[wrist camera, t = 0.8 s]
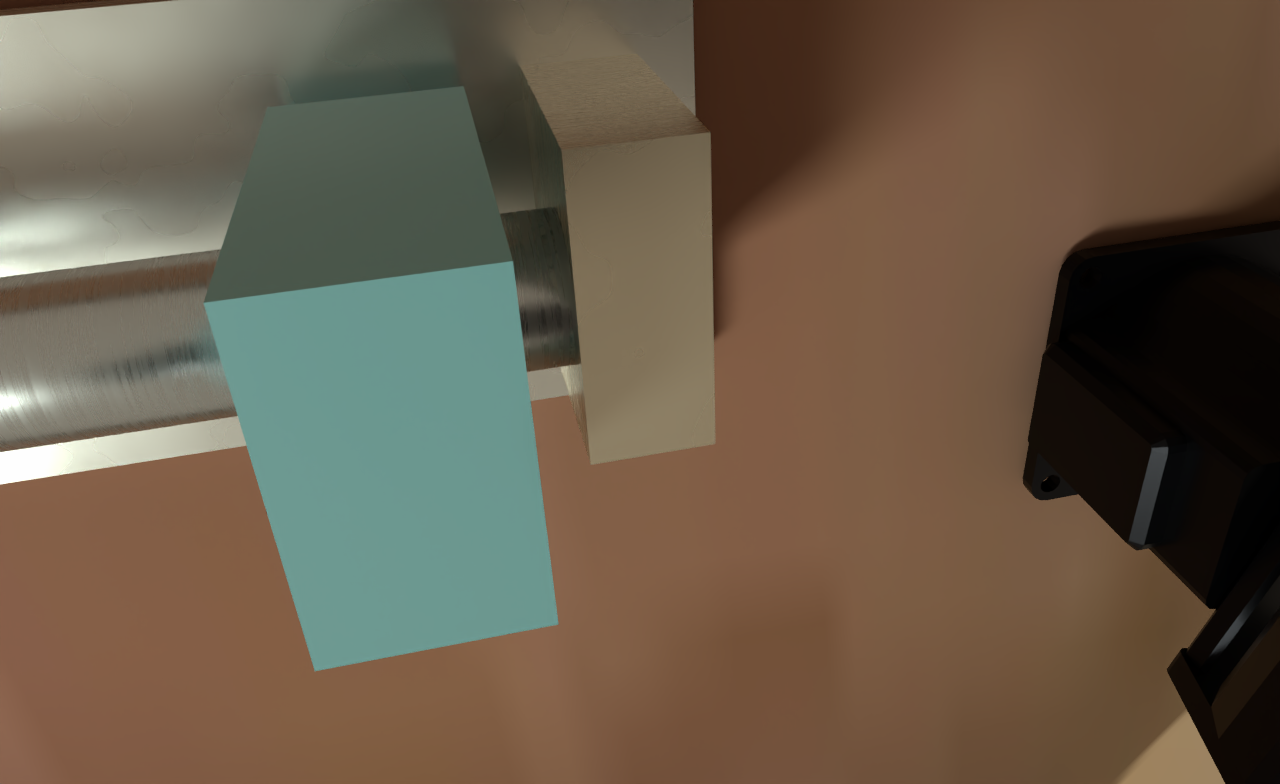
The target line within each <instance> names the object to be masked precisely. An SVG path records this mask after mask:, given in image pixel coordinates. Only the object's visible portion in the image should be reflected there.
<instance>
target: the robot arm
mask: <svg viewBox="0 0 1280 784" xmlns="http://www.w3.org/2000/svg"><path fill="white" fill-rule="evenodd" d="M1089 268H1091V269H1090V272H1089V274H1088V275H1087V276H1086V277H1085V278H1084V279H1083V280H1080V278H1081V275H1082V274H1083V273H1084V272H1085V271H1086V270H1087V269H1089ZM1028 442H1029V446H1028V452H1027V458H1026V463H1025V469H1024V475H1023V484H1024V486H1025V487H1026V488H1027V490H1028V491H1029V492H1030V493H1031V494H1032V495H1033V496H1034V497H1035V498H1037V499H1039V500H1050V499H1055V498H1061V497H1066V496H1071V495H1077V494H1079V495H1080V496H1081V497H1082V498H1083V499H1084V500H1085V501H1086V502H1087V503H1088V504H1089V505H1090V506H1091V507H1092V508H1093V509H1094V510H1095V512H1096V513H1097V514H1098V515H1099V516H1100V517H1101V518H1102V519H1103V520H1104V521H1105V522H1106V523H1107V524H1108V525H1109V526H1110V527H1111V528H1112V529H1113V530H1114V531H1115V532H1116V533H1117V534H1118V535H1119V536H1120V537H1121V538H1122V539H1123V540H1124V541H1125V542H1126V543H1127V544H1128V545H1130V546H1131V547H1132V548H1134V549H1135V550H1142V549H1147V548H1149V549H1150V550H1151V551H1152V552H1153V553H1154V554H1155V555H1156V556H1157V557H1158V558H1159V559H1160V560H1161V561H1162V562H1163V563H1164V564H1165V565H1166V566H1167V567H1168V568H1169V569H1170V570H1171V571H1172V572H1173V573H1174V574H1175V575H1176V576H1177V577H1178V578H1179V579H1180V580H1181V581H1182V582H1183V583H1184V584H1185V585H1186V586H1187V587H1188V588H1189V589H1190V590H1191V591H1192V592H1193V593H1194V594H1195V595H1196V596H1197V597H1198V598H1199V599H1200V600H1201V601H1202V602H1203V603H1204V604H1205V605H1206V606H1207V607H1208V608H1209V609H1216V610H1215V611H1214V613H1213V614H1212V616H1211V617H1210V618H1209V620H1208V621H1207V623H1206V624H1205V625H1204V627H1203V628H1202V629H1201V631H1200V632H1199V634H1198V635H1197V636H1196V638H1195V639H1194V641H1193V642H1192V643H1191V645H1190V646H1189V647H1188V648H1182V649H1181V650H1180V652H1179V653H1178V654H1177V656H1176V657H1175V659H1174V660H1173V661H1172V663H1171V664H1170V666H1169V667H1168V668H1167V672H1168V674H1169V676H1170V678H1171V680H1172V682H1173V684H1174V686H1175V687H1176V689H1177V691H1178V693H1179V695H1180V697H1181V699H1182V701H1183V703H1184V705H1185V707H1186V709H1187V711H1188V712H1189V714H1190V716H1191V718H1192V720H1193V722H1194V724H1195V726H1196V728H1197V730H1198V732H1199V734H1200V736H1201V738H1202V739H1203V741H1204V743H1205V745H1206V747H1207V749H1208V751H1209V753H1210V755H1211V757H1212V759H1213V761H1214V762H1215V764H1216V766H1217V768H1218V770H1219V772H1220V774H1221V776H1222V778H1223V780H1224V782H1225V784H1280V221H1275V222H1268V223H1262V224H1255V225H1248V226H1241V227H1234V228H1227V229H1221V230H1214V231H1207V232H1200V233H1193V234H1186V235H1180V236H1173V237H1166V238H1159V239H1152V240H1145V241H1138V242H1132V243H1125V244H1118V245H1111V246H1104V247H1097V248H1091V249H1084V250H1081V251H1078V252H1075V253H1074V254H1073V255H1071V256H1070V257H1068V258H1067V260H1066V261H1065V262H1064V264H1063V265H1062V267H1061V270H1060V273H1059V277H1058V283H1057V288H1056V294H1055V300H1054V305H1053V311H1052V317H1051V322H1050V328H1049V334H1048V339H1047V345H1046V350H1045V352H1044V354H1043V357H1042V362H1041V368H1040V374H1039V379H1038V385H1037V391H1036V396H1035V402H1034V408H1033V413H1032V419H1031V425H1030V430H1029V436H1028ZM1048 476H1049V478H1047V479H1046V480H1045V481H1043V480H1044V479H1045V478H1046V477H1048ZM1042 481H1043V482H1042Z"/></svg>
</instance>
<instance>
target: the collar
mask: <svg viewBox="0 0 1280 784" xmlns="http://www.w3.org/2000/svg"><path fill="white" fill-rule="evenodd" d="M204 306H205V310H206V313H207V316H208V320H209V323H210V326H211V329H212V333H213V336H214V339H215V343H216V346H217V349H218V353H219V356H220V359H221V362H222V366H223V369H224V372H225V376H226V379H227V382H228V386H229V389H230V392H231V396H232V399H233V402H234V405H235V409H236V412H237V415H238V419H239V422H240V425H241V429H242V432H243V435H244V438H245V442H246V445H247V448H248V452H249V455H250V458H251V462H252V465H253V468H254V471H255V475H256V478H257V481H258V485H259V488H260V491H261V495H262V498H263V501H264V504H265V508H266V511H267V514H268V518H269V521H270V524H271V528H272V531H273V534H274V538H275V541H276V544H277V547H278V551H279V554H280V557H281V561H282V564H283V567H284V571H285V574H286V577H287V580H288V584H289V587H290V590H291V594H292V597H293V600H294V604H295V607H296V610H297V613H298V617H299V620H300V623H301V627H302V630H303V633H304V637H305V640H306V643H307V646H308V650H309V653H310V656H311V660H312V663H313V666H314V670H315V671H318V670H324V669H329V668H334V667H339V666H344V665H350V664H355V663H360V662H365V661H370V660H376V659H381V658H386V657H391V656H396V655H402V654H407V653H412V652H417V651H422V650H428V649H433V648H438V647H443V646H448V645H454V644H459V643H464V642H469V641H474V640H480V639H485V638H490V637H495V636H500V635H506V634H511V633H516V632H521V631H526V630H532V629H537V628H542V627H547V626H552V625H558V617H557V609H556V601H555V593H554V585H553V577H552V569H551V561H550V553H549V545H548V537H547V529H546V521H545V513H544V505H543V497H542V489H541V481H540V473H539V465H538V457H537V449H536V441H535V433H534V425H533V417H532V409H531V401H530V393H529V385H528V377H527V369H526V361H525V353H524V345H523V337H522V329H521V321H520V313H519V305H518V297H517V289H516V281H515V273H514V265H513V259H512V256H511V252H510V249H509V245H508V242H507V238H506V235H505V231H504V227H503V224H502V220H501V217H500V213H499V210H498V206H497V203H496V199H495V196H494V192H493V188H492V185H491V181H490V178H489V174H488V171H487V167H486V164H485V160H484V157H483V153H482V149H481V146H480V142H479V139H478V135H477V132H476V128H475V125H474V121H473V118H472V114H471V110H470V107H469V103H468V100H467V96H466V93H465V89H464V86H460V87H450V88H441V89H432V90H422V91H413V92H404V93H394V94H385V95H376V96H366V97H357V98H348V99H339V100H329V101H320V102H311V103H301V104H292V105H283V106H273V107H267V110H266V113H265V116H264V119H263V122H262V125H261V129H260V132H259V135H258V138H257V141H256V144H255V147H254V150H253V153H252V156H251V159H250V162H249V165H248V168H247V171H246V174H245V177H244V180H243V184H242V187H241V190H240V193H239V196H238V199H237V202H236V205H235V208H234V211H233V214H232V217H231V220H230V223H229V226H228V229H227V232H226V235H225V239H224V242H223V245H222V248H221V251H220V254H219V257H218V260H217V263H216V266H215V269H214V272H213V275H212V278H211V281H210V284H209V287H208V290H207V294H206V297H205V300H204Z"/></svg>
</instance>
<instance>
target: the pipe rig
mask: <svg viewBox="0 0 1280 784" xmlns="http://www.w3.org/2000/svg"><path fill="white" fill-rule="evenodd" d="M460 86H464V89H465V93H466V96H467V100H468V103H469V107H470V110H471V114H472V118H473V121H474V125H475V128H476V132H477V135H478V139H479V142H480V146H481V149H482V153H483V157H484V160H485V164H486V167H487V171H488V174H489V178H490V181H491V185H492V188H493V192H494V196H495V199H496V203H497V206H498V210H499V213H500V217H501V220H502V224H503V227H504V231H505V235H506V238H507V242H508V245H509V249H510V252H511V256H512V259H513V265H514V273H515V281H516V289H517V297H518V305H519V313H520V321H521V329H522V337H523V345H524V353H525V361H526V369H527V377H528V385H529V393H530V401H533V400H540V399H546V398H552V397H559V396H565V395H569V397H570V400H571V403H572V406H573V410H574V413H575V416H576V419H577V423H578V426H579V429H580V432H581V435H582V439H583V442H584V445H585V448H586V451H587V455H588V458H589V461H590V464H591V465H593V464H599V463H605V462H610V461H616V460H622V459H628V458H634V457H640V456H646V455H652V454H658V453H664V452H670V451H676V450H682V449H688V448H694V447H700V446H706V445H711V444H715V390H714V323H713V257H712V191H711V132H710V131H709V130H708V129H707V128H706V127H705V126H704V125H703V124H702V122H701V121H700V120H699V119H698V118H697V117H696V116H695V74H694V30H693V0H102V1H91V2H79V3H68V4H57V5H46V6H35V7H24V8H12V9H1V10H0V484H5V483H11V482H17V481H24V480H30V479H36V478H43V477H49V476H56V475H62V474H68V473H75V472H81V471H87V470H94V469H100V468H107V467H113V466H119V465H126V464H132V463H138V462H145V461H151V460H157V459H164V458H170V457H177V456H183V455H189V454H196V453H202V452H208V451H215V450H221V449H228V448H234V447H240V446H247V445H246V442H245V438H244V435H243V432H242V429H241V425H240V422H239V419H238V415H237V412H236V409H235V405H234V402H233V399H232V396H231V392H230V389H229V386H228V382H227V379H226V376H225V372H224V369H223V366H222V362H221V359H220V356H219V353H218V349H217V346H216V343H215V339H214V336H213V333H212V329H211V326H210V323H209V320H208V316H207V313H206V310H205V306H204V300H205V297H206V294H207V290H208V287H209V284H210V281H211V278H212V275H213V272H214V269H215V266H216V263H217V260H218V257H219V254H220V251H221V248H222V245H223V242H224V239H225V235H226V232H227V229H228V226H229V223H230V220H231V217H232V214H233V211H234V208H235V205H236V202H237V199H238V196H239V193H240V190H241V187H242V184H243V180H244V177H245V174H246V171H247V168H248V165H249V162H250V159H251V156H252V153H253V150H254V147H255V144H256V141H257V138H258V135H259V132H260V129H261V125H262V122H263V119H264V116H265V113H266V110H267V107H273V106H283V105H292V104H301V103H311V102H320V101H329V100H339V99H348V98H357V97H366V96H376V95H385V94H394V93H404V92H413V91H422V90H432V89H441V88H450V87H460Z"/></svg>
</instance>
